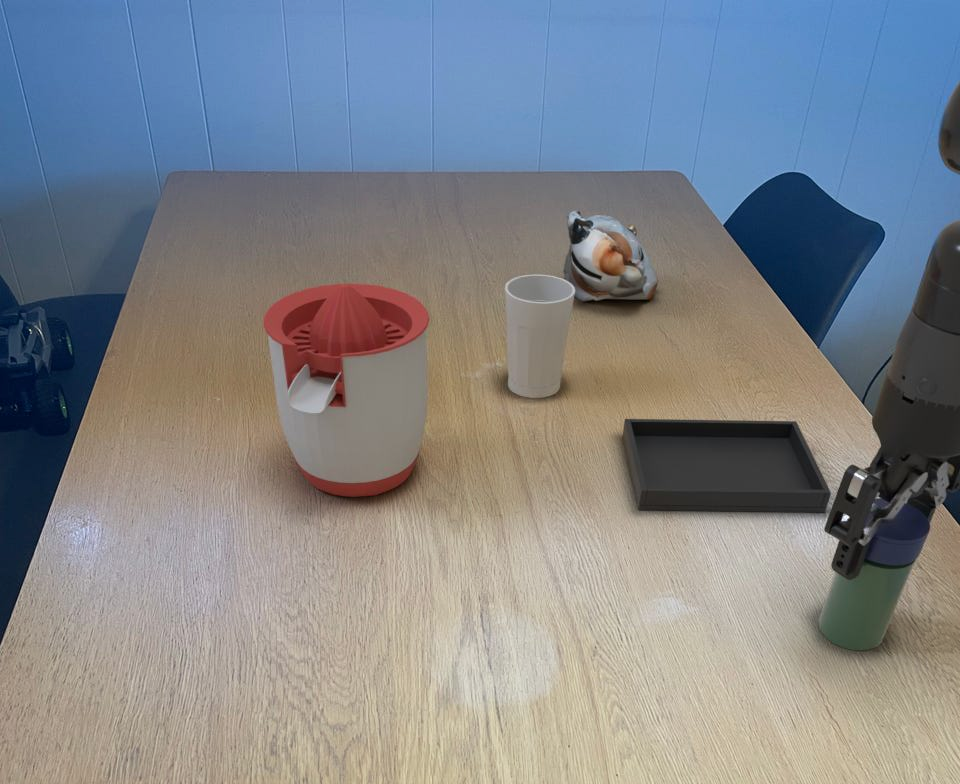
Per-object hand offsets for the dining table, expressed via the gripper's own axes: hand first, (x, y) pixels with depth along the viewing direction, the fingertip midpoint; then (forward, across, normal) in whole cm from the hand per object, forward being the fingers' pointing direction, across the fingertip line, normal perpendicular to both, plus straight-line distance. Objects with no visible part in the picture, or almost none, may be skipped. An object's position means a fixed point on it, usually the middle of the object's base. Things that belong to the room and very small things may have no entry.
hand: (876, 555), depth 80 cm
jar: (+8, 0, 0) cm, 8 cm away
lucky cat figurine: (+8, -29, -66) cm, 72 cm away
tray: (+8, -8, -24) cm, 27 cm away
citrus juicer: (+8, +24, -46) cm, 52 cm away
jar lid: (-4, 0, 0) cm, 4 cm away
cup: (+8, -4, -51) cm, 51 cm away
